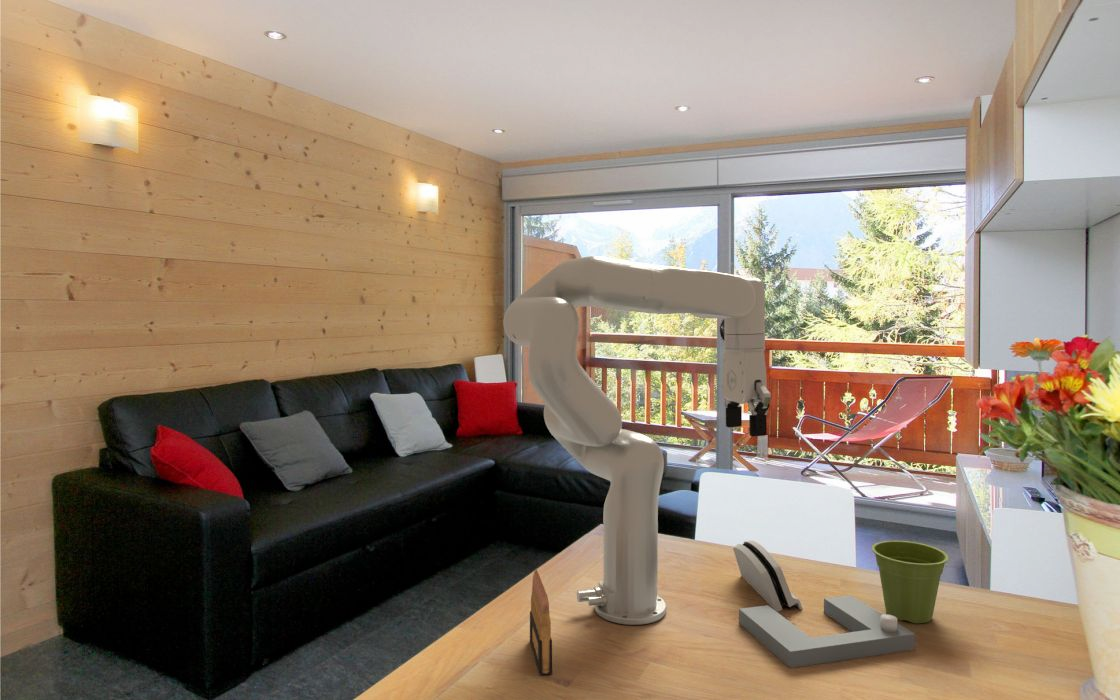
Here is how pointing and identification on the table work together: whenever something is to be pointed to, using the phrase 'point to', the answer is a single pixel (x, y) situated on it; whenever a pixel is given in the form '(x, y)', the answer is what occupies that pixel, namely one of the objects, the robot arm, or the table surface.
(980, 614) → the table surface
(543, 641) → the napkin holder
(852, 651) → the gray u-shaped block
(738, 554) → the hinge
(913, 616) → the plant pot
